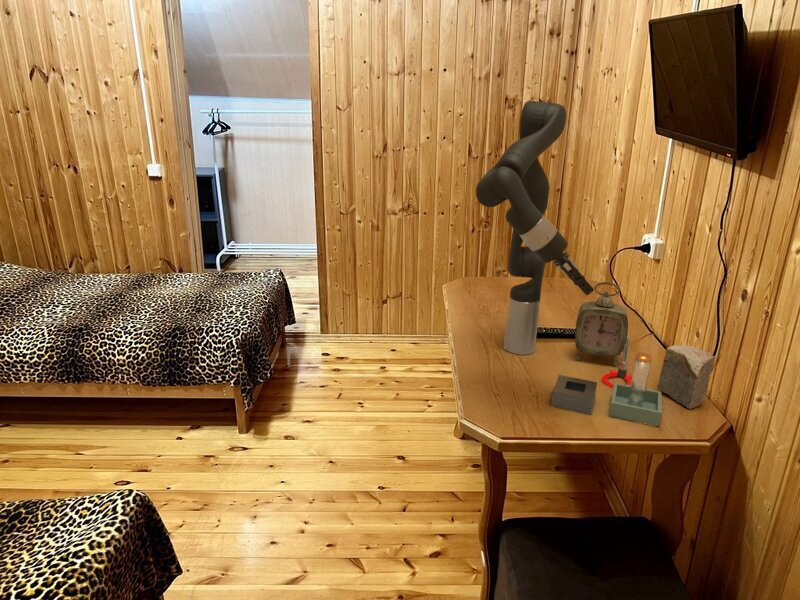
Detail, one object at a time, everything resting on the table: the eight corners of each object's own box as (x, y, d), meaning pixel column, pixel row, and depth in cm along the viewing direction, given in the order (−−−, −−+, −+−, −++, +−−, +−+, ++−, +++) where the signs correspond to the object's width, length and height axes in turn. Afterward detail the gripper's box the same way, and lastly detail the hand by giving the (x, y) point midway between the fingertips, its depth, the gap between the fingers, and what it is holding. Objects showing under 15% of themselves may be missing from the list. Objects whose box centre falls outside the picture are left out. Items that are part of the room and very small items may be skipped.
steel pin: (626, 410, 146) (635, 357, 141) (627, 404, 149) (636, 351, 144) (641, 413, 145) (651, 360, 140) (641, 407, 148) (651, 354, 143)
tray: (608, 416, 145) (611, 402, 143) (612, 395, 155) (614, 382, 153) (658, 427, 140) (661, 413, 139) (658, 405, 150) (661, 391, 149)
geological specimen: (655, 392, 157) (665, 342, 152) (671, 388, 160) (682, 338, 155) (688, 410, 148) (699, 358, 143) (704, 406, 150) (716, 354, 145)
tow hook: (627, 394, 157) (637, 380, 163) (634, 352, 152) (644, 339, 159) (597, 385, 161) (607, 372, 168) (602, 344, 156) (613, 332, 163)
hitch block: (551, 406, 149) (552, 390, 147) (557, 389, 157) (558, 374, 156) (591, 415, 145) (593, 399, 143) (594, 397, 154) (597, 382, 152)
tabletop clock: (571, 361, 174) (581, 283, 166) (572, 349, 182) (582, 274, 174) (621, 369, 170) (635, 289, 161) (620, 356, 178) (633, 280, 170)
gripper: (562, 235, 127) (607, 286, 130) (549, 221, 140) (590, 268, 144) (535, 257, 129) (580, 306, 132) (526, 241, 142) (567, 287, 146)
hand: (585, 286), depth 138 cm, fingers open, 8 cm apart
